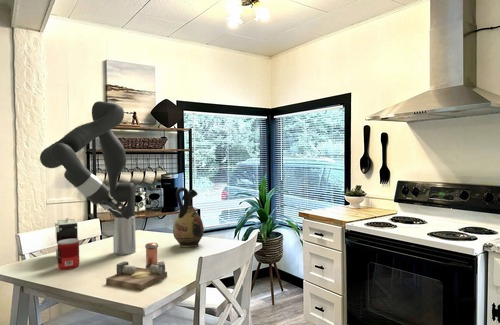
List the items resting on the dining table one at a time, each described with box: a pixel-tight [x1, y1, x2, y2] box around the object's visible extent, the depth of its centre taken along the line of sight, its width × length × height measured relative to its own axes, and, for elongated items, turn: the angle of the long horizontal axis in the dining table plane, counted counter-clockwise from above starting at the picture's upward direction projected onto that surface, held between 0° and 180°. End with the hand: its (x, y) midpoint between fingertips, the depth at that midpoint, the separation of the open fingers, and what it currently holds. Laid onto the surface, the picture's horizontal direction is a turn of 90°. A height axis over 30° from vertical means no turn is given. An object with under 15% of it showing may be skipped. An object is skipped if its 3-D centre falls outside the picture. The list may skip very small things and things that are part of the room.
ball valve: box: [54, 217, 79, 258], centre depth 159 cm, size 18×8×18 cm, turn 31°
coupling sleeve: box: [144, 242, 159, 269], centre depth 141 cm, size 5×5×10 cm
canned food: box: [57, 238, 80, 271], centre depth 144 cm, size 8×8×11 cm
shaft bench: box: [105, 260, 168, 291], centre depth 127 cm, size 17×14×6 cm
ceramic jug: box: [172, 186, 205, 248], centre depth 176 cm, size 17×15×30 cm
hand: (123, 216), depth 132 cm, fingers open, 8 cm apart
